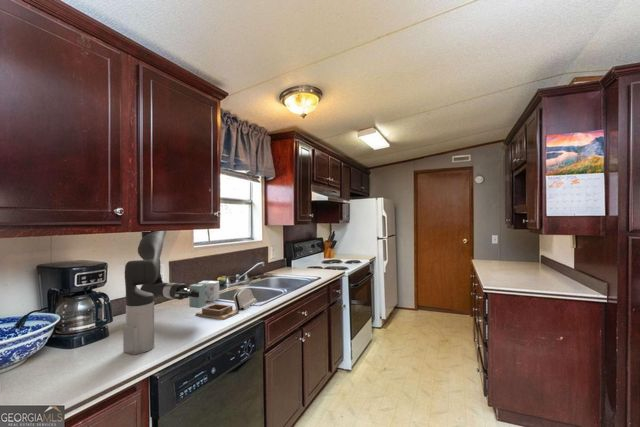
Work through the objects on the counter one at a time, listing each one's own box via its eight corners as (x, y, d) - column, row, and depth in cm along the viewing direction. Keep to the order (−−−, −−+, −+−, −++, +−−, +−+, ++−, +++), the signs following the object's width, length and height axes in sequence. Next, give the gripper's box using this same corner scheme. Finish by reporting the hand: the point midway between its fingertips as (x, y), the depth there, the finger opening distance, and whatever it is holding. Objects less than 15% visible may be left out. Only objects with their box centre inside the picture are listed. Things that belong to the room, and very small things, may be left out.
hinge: (244, 310, 163) (238, 292, 164) (237, 312, 164) (231, 294, 165) (257, 301, 180) (251, 285, 181) (250, 304, 181) (244, 287, 182)
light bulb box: (197, 301, 183) (197, 282, 183) (203, 298, 190) (203, 280, 190) (214, 301, 182) (214, 283, 182) (219, 298, 188) (219, 280, 188)
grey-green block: (199, 308, 141) (199, 286, 141) (189, 306, 143) (189, 285, 143) (205, 306, 144) (205, 284, 145) (196, 304, 147) (196, 283, 147)
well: (223, 319, 149) (223, 312, 149) (195, 315, 156) (195, 308, 156) (238, 312, 159) (238, 306, 159) (211, 309, 166) (211, 302, 166)
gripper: (162, 286, 143) (190, 288, 136) (187, 280, 156) (213, 282, 149) (162, 302, 143) (190, 306, 136) (187, 295, 156) (213, 298, 149)
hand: (202, 293), depth 143 cm, fingers closed on grey-green block, 4 cm apart
